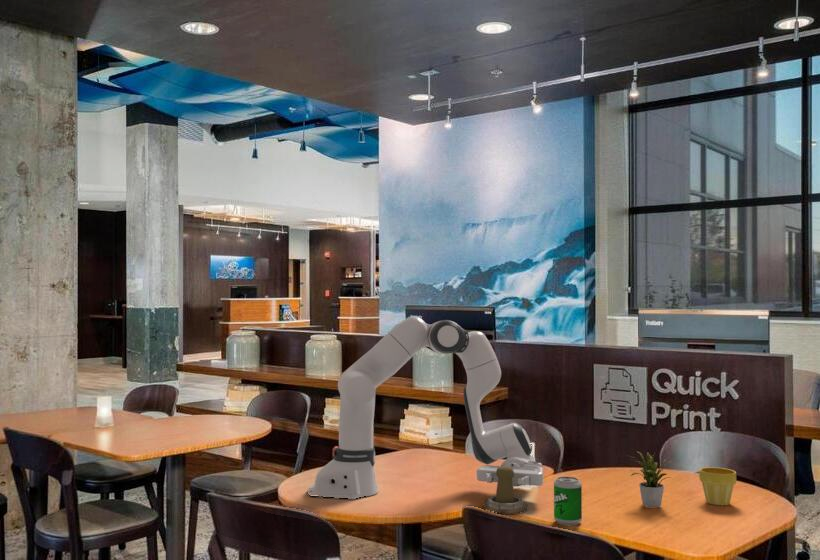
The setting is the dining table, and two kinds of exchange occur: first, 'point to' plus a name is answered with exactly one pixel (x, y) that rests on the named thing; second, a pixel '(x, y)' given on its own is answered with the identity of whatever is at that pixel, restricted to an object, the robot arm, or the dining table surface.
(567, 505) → the soda can
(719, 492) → the plant pot
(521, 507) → the grey octagonal ring
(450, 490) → the dining table surface
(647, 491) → the house plant
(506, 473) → the cork
